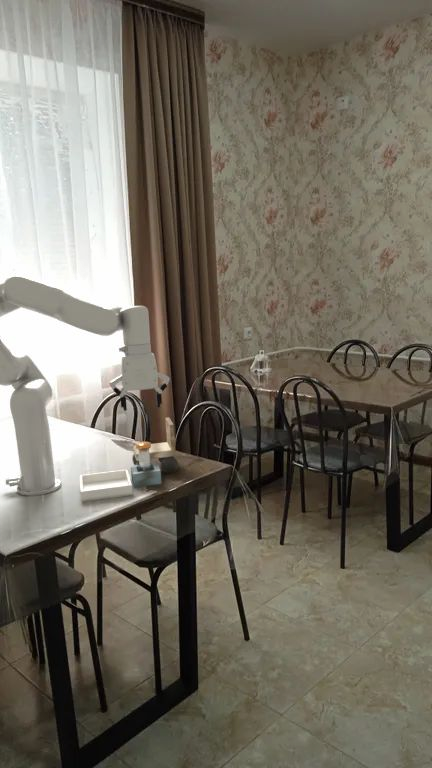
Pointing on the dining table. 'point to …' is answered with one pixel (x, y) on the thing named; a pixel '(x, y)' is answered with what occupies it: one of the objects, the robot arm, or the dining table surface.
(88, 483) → the tray
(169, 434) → the trolley
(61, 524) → the dining table surface
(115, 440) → the dining table surface
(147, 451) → the stop pin
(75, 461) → the dining table surface
